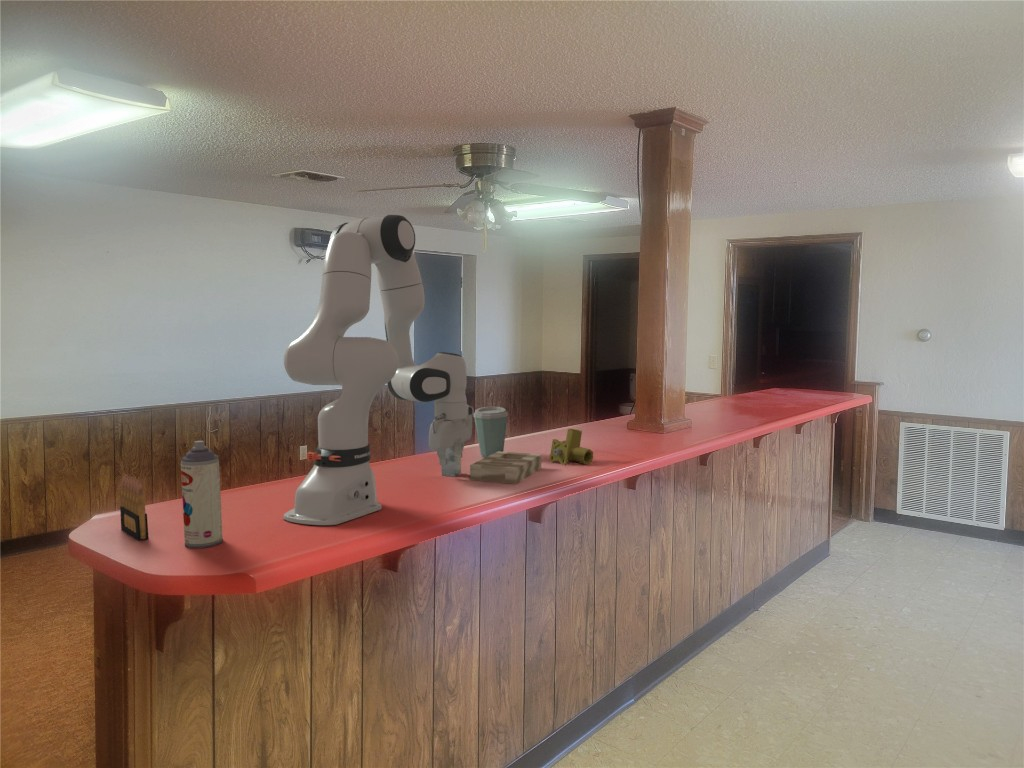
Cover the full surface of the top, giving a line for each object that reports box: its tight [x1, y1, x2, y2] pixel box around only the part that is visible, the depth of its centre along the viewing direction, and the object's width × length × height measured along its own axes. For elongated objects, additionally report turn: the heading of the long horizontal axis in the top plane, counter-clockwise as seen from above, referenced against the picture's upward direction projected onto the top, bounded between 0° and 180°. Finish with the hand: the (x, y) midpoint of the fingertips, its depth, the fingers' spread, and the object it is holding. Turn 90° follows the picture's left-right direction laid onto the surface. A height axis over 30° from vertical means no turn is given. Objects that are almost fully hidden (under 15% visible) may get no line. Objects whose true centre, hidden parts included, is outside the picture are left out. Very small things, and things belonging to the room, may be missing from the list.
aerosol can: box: [180, 440, 224, 549], centre depth 141 cm, size 7×7×20 cm
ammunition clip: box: [119, 472, 150, 542], centre depth 147 cm, size 11×2×12 cm, turn 45°
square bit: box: [441, 438, 462, 478], centre depth 200 cm, size 4×4×10 cm
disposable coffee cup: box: [472, 406, 509, 459], centre depth 223 cm, size 11×11×15 cm
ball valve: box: [549, 428, 594, 466], centre depth 216 cm, size 13×10×10 cm
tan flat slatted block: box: [469, 451, 542, 485], centre depth 201 cm, size 20×13×4 cm, turn 159°
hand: (451, 461), depth 200 cm, fingers open, 8 cm apart
